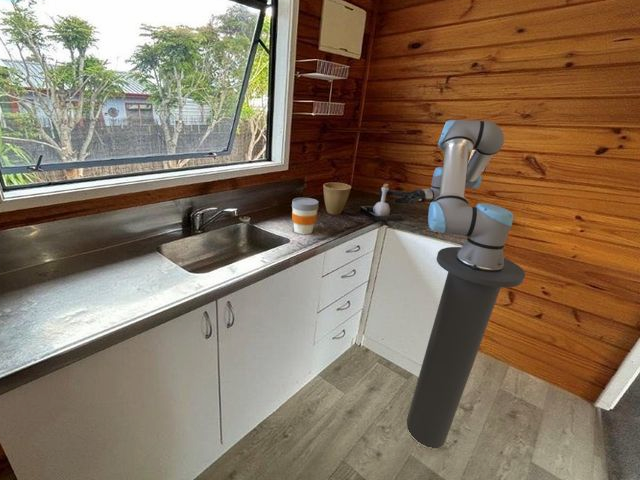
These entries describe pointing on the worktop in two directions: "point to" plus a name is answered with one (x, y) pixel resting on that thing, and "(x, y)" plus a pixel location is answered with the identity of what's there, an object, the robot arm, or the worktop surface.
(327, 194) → the plant pot
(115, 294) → the worktop surface
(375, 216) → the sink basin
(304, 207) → the reusable coffee cup
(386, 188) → the potion bottle
